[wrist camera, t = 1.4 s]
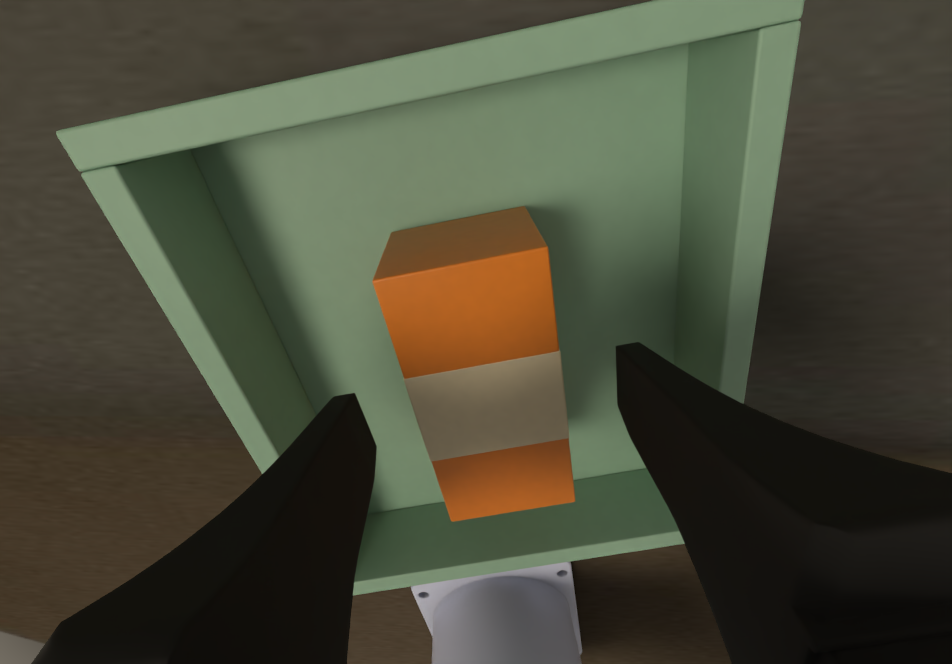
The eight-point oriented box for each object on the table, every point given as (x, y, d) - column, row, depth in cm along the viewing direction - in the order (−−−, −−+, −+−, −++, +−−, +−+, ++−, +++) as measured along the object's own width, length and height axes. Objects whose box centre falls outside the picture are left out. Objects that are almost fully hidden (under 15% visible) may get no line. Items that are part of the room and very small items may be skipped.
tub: (680, 463, 19) (724, 538, 16) (354, 517, 20) (336, 598, 17) (710, -3, 11) (811, -35, 8) (157, 116, 12) (51, 130, 9)
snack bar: (553, 424, 17) (576, 502, 14) (450, 441, 17) (450, 523, 14) (525, 204, 13) (549, 246, 10) (389, 231, 13) (370, 281, 10)
